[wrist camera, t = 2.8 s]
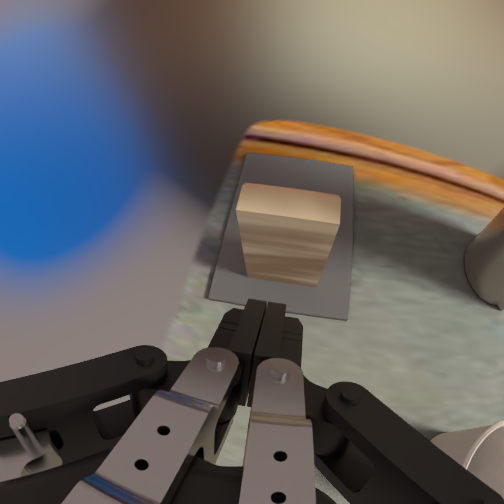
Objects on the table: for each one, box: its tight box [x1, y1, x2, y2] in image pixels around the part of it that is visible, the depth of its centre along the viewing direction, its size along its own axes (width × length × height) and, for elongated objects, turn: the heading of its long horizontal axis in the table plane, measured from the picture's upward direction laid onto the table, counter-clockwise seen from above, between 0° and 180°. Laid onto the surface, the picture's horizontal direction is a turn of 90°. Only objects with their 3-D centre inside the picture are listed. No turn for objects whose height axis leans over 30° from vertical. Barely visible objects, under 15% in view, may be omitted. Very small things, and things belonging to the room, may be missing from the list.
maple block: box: [236, 183, 341, 287], centre depth 26 cm, size 2×7×12 cm, turn 79°
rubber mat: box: [208, 152, 354, 321], centre depth 34 cm, size 20×14×1 cm
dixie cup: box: [430, 420, 504, 499], centre depth 17 cm, size 8×8×10 cm
